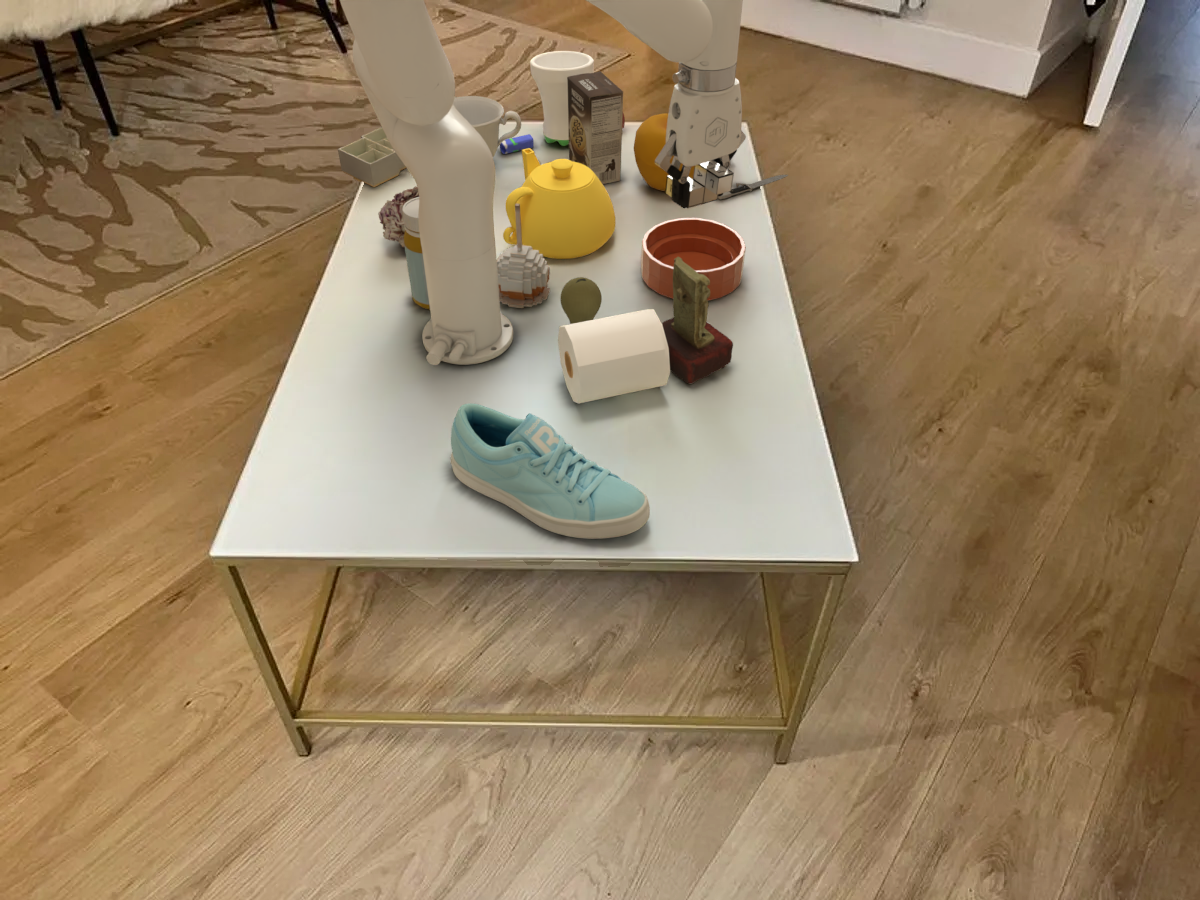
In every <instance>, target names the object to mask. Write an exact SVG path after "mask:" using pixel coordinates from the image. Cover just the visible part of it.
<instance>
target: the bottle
mask: <svg viewBox="0 0 1200 900" xmlns="http://www.w3.org/2000/svg"><path fill="white" fill-rule="evenodd" d="M402 212H403V218H404V224H405V234H404V246H405V247H404V252H405V258H406V264H407V265H406V266H407V272H408V279H409V286H410V292H411V297H412V301H413V302H414V303H415V304H416V305H417V306H419V307H421V308H423V309H425V310H428V311H430V305H429V298H428V290H427V283H426V275H425V268H424V260H423V253H422V246H421V240H420V232H419V220H418V213H419V197H416V198H413V199H411V200H409V201H407V202H406V203H405V204H404V205H403V209H402Z"/></svg>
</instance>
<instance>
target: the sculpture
mask: <svg viewBox="0 0 1200 900" xmlns="http://www.w3.org/2000/svg"><path fill="white" fill-rule="evenodd" d="M707 285H710V280H709V279H708V278H707V277H706V276H705V275H703V274H699V273H697V272H696V271H695V270H694V269H692V268H691V267H690V266H689V265H687V264H686V263H684V262H683V261H682V258H680V257H677V258H675V259H674V268H673V299H672V300H673V301H672V309H673V310H672V312H673V313H672V314H673V317H672V318H669V319H666V320H664V321H663V322H662V321H661V323H662V325H663V329H664V333H665V336H666V340H667V344H668V348H669V361H670V372H672V373H673V374H674V375H675V376H677V377H678V378H679V379H680V380H682V381H683V382H684V383H686V384H689V385H691V384H694V383H696V382H698V381H699V380H702V379H705V378H707V377H709V376H710V375H712V374H714V373H715V372H717V371H720V370H721V369H724V368H725V367H726V366H728V365H729V364H730V363H732V357H733V355H732V353H733V347H734V342H733V341H732V339H730V338H729V336H727V335H725V334H724V333H722V331H720V330H718V329H717V328H715V326H713V325H712V324H710V323H709V322H708V321H707V320H708V313H709V312H708V311H709V305H710V303H709V300H708V301H707V298H708V297H709V296H710V289H709V288H707Z"/></svg>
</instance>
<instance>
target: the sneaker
mask: <svg viewBox="0 0 1200 900" xmlns="http://www.w3.org/2000/svg"><path fill="white" fill-rule="evenodd" d="M450 431H451V432H450V433H451V434H450V447H451V448H450V449H451V454H450V461H449V462H450V465H451V467H452V472H453V474H454V476H455V477H456V479H458V480H459V481H460V483H462V484H463V485H465V486H466V487H468V488H470V489H472V490H473V491H475V492H478V493H479V494H482V495H484V496H486V497H488V498H490V499H492V500H494V501H497V502H499V503H501V504H503V505H505V506H506V507H509V508H510V509H512V510H514V511H515V512H517V513H518V514H519V515H521V516H523V517H524V518H525V519H527V520H528V521H530V522H532V523H533V524H535V525H536V526H538V527H540V528H541V529H544V530H546V531H549V532H551V533H555V534H557V535H560V536H561V535H562V536H566V537H569V538H570V537H571V538H578V539H589V540H591V539H592V540H595V539H596V540H597V539H598V540H599V539H611V538H618V537H623V536H627V535H630V534H633V533H635V532H636V531H637V532H638V530H640V529H642V528H643V527H644V526H645V525H646V524H647V523H648V521H649V519H650V515H651V508H650V502H649V499H648V497H647V495H646V493H645V492H644V491H642V490H640V489H639V488H638V487H637V486H635V485H633V484H631V483H630V482H628V481H625V480H624V479H622V478H621V477H620V476H618V475H617V474H614V473H612V472H611V470H610V469H609V468H604V467H602V466H600V465H598V464H597V462H595V461H594V460H593V461H591V460H589V459H587V458H586V457H585V456H584V455H583V454H582V453H578V452H577V451H576V450H574V446H573V445H572V444H570V443H566V440H565V438H564V437H563V436H562V435H561V434H558V433H557V431H556V430H555V429H554V427H553V426H552V425H551V424H549V423H547V421H545V420H544V419H543V418H541V417H539V416H537V415H534V414H532V412H529V413H528V414H527V415H526V416H525V419H524V418H517V417H514V416H511V415H508V414H506V413H504V412H502V411H499V410H496V409H493V408H491V407H488V406H485V405H482V404H479V403H473V402H471V403H470V402H469V403H464V404H462V405H461V406H460V407H459V408H458V410H457V412H456V415H455V417H454V419H453V422H452V425H451V430H450Z"/></svg>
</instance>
